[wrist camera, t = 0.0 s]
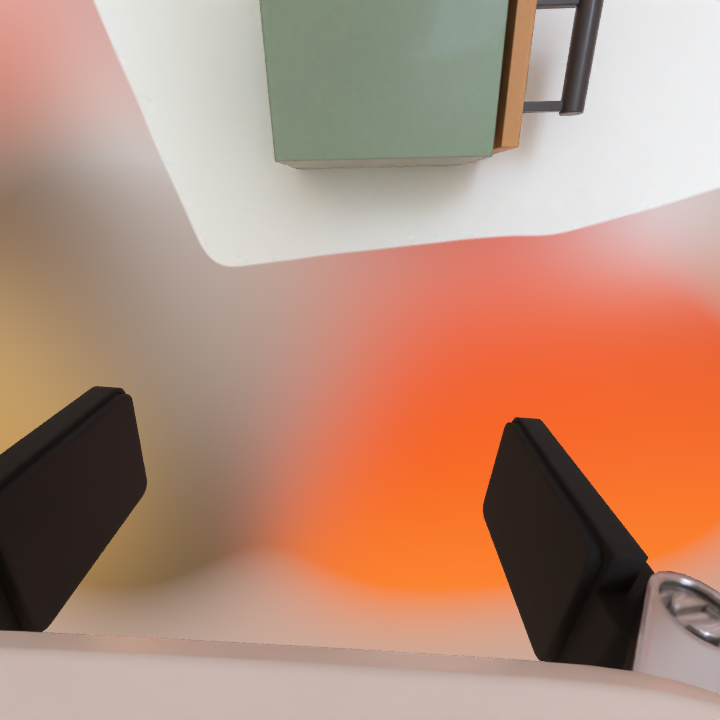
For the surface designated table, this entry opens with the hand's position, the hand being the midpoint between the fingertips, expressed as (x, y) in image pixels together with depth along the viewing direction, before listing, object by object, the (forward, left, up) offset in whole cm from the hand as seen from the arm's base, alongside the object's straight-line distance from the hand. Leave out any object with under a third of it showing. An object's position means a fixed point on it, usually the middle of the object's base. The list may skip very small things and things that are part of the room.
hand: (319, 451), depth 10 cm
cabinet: (-12, -8, -31) cm, 34 cm away
